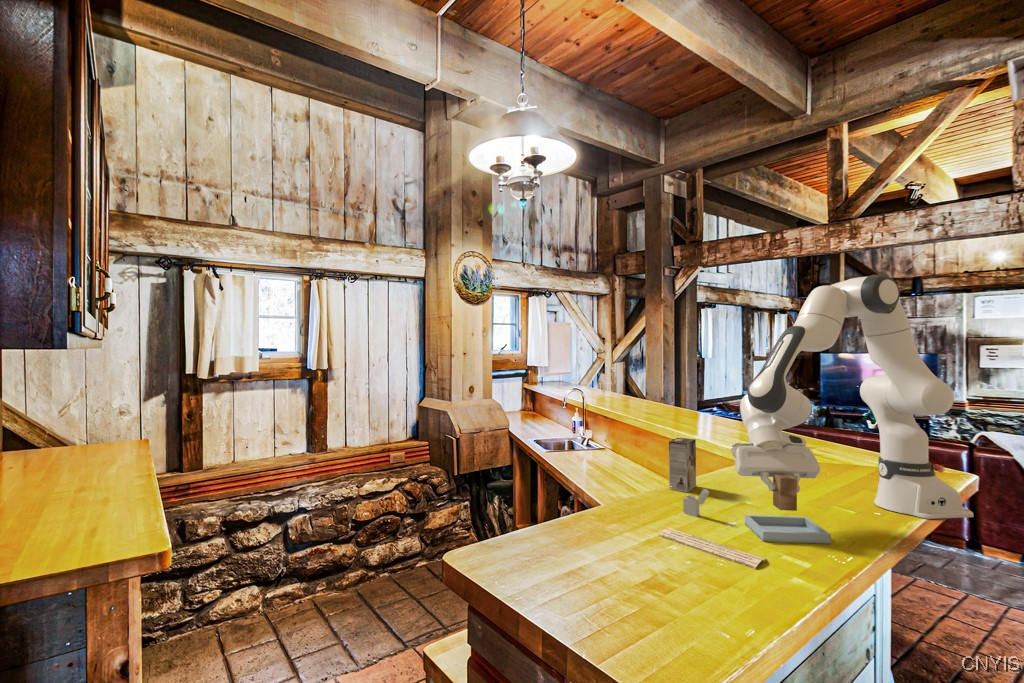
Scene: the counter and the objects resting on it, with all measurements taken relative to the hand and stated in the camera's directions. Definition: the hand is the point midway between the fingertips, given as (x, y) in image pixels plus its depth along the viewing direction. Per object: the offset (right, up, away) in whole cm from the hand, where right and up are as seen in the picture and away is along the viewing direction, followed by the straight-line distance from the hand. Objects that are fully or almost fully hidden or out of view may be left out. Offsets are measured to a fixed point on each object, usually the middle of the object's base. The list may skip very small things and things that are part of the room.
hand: (785, 490), depth 122 cm
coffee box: (-12, -12, +39) cm, 43 cm away
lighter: (-18, -11, +13) cm, 25 cm away
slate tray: (0, -11, 0) cm, 11 cm away
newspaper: (-22, -12, -8) cm, 27 cm away
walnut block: (0, -4, 0) cm, 4 cm away
